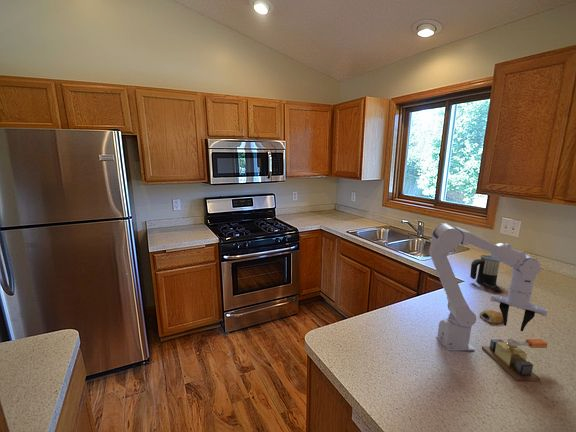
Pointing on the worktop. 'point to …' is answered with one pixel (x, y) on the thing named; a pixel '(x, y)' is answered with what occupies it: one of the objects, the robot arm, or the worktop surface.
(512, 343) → the lever
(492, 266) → the milk frother
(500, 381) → the worktop surface
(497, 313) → the pastry
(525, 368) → the valve
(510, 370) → the plank
